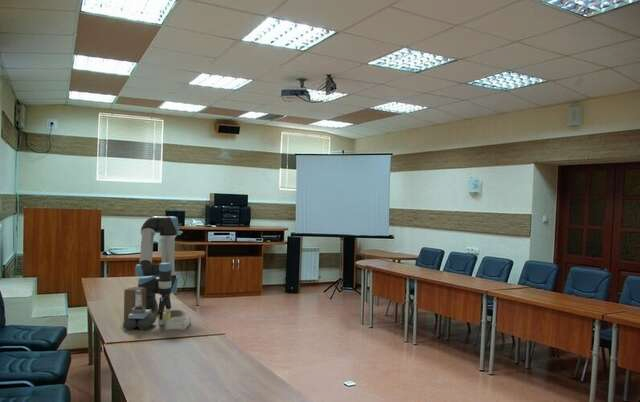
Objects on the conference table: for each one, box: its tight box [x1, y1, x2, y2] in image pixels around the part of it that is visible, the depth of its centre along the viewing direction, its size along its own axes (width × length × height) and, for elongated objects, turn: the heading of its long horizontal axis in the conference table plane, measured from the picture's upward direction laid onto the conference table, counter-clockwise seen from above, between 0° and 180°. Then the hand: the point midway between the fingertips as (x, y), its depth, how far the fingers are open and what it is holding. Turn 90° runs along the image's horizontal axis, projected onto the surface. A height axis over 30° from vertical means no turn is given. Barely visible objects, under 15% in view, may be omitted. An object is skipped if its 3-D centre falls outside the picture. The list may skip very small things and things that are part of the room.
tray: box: [164, 316, 191, 331], centre depth 288 cm, size 15×12×4 cm
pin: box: [135, 290, 142, 309], centre depth 285 cm, size 4×4×13 cm
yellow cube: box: [157, 311, 171, 324], centre depth 297 cm, size 5×6×6 cm
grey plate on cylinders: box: [123, 307, 157, 331], centre depth 285 cm, size 14×15×12 cm
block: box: [123, 286, 146, 322], centre depth 301 cm, size 10×10×20 cm
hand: (164, 321), depth 297 cm, fingers open, 12 cm apart
